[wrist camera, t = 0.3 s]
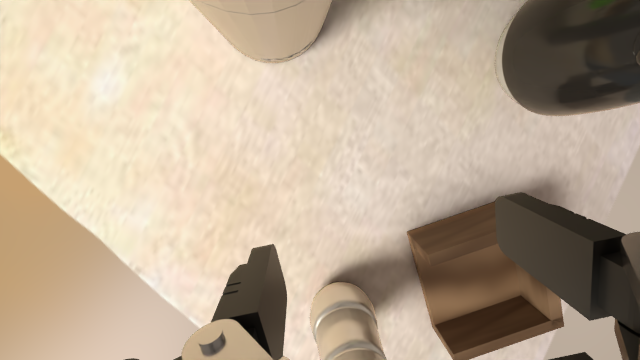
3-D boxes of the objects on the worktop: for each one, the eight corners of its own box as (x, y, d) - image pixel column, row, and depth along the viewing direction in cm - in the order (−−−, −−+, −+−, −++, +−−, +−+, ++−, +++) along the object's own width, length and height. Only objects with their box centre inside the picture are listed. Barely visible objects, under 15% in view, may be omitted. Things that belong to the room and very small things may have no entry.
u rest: (406, 231, 31) (427, 255, 26) (509, 196, 31) (549, 213, 26) (432, 327, 34) (455, 363, 29) (525, 295, 34) (564, 326, 29)
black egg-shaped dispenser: (459, 25, 27) (665, -73, 12) (568, -22, 27) (910, -182, 12) (488, 132, 29) (686, 158, 15) (587, 89, 29) (888, 71, 14)
